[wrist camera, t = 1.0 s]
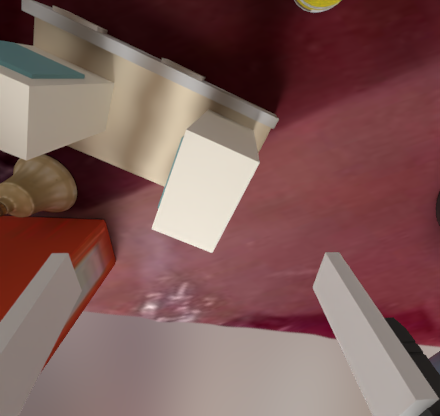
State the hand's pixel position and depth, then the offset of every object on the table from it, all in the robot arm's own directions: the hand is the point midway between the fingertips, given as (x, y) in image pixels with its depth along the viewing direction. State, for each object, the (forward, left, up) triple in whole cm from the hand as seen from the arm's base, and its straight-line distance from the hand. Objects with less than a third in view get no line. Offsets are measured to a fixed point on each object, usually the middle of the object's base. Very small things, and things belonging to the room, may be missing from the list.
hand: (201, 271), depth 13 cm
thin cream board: (+9, -1, -18) cm, 21 cm away
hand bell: (+20, +12, -19) cm, 30 cm away
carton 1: (+17, -1, -16) cm, 24 cm away
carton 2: (+1, -1, -16) cm, 16 cm away
